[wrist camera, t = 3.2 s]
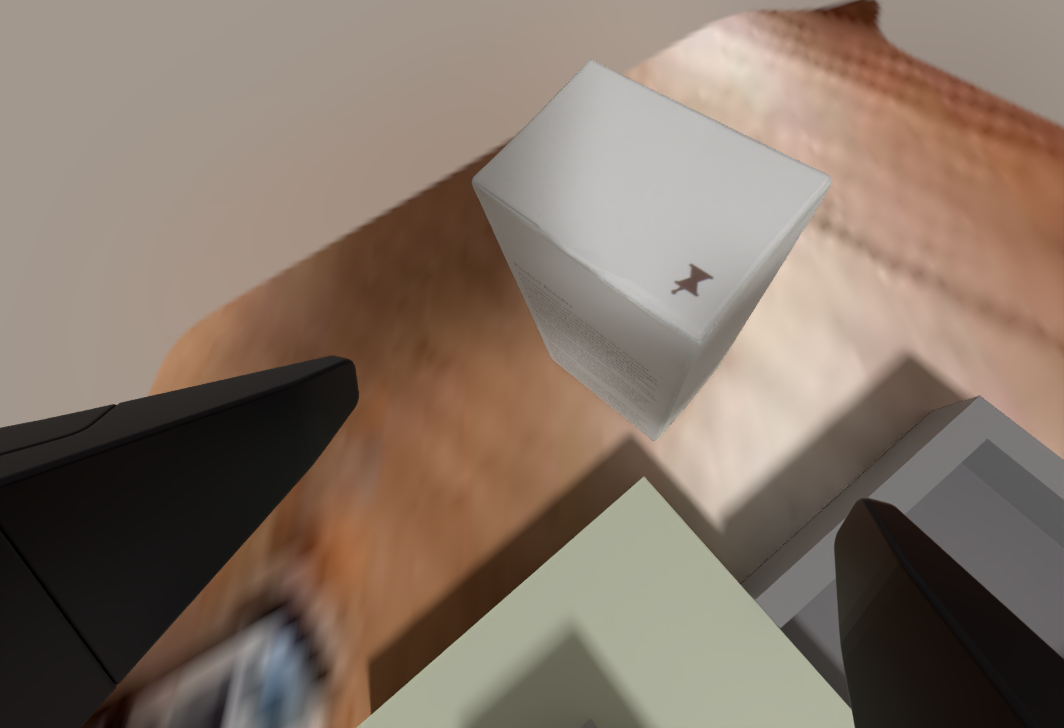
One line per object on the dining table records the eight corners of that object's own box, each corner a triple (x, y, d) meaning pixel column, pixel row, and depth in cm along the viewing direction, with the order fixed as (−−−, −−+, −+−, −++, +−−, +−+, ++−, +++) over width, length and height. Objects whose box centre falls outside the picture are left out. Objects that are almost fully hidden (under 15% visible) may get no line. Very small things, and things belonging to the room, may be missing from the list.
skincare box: (719, 367, 20) (851, 177, 8) (654, 445, 19) (702, 354, 8) (606, 288, 22) (590, 47, 10) (545, 356, 21) (459, 182, 10)
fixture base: (641, 1235, 13) (655, 1760, 8) (370, 716, 18) (262, 806, 13) (1229, 652, 14) (1605, 741, 9) (822, 321, 19) (901, 247, 14)
